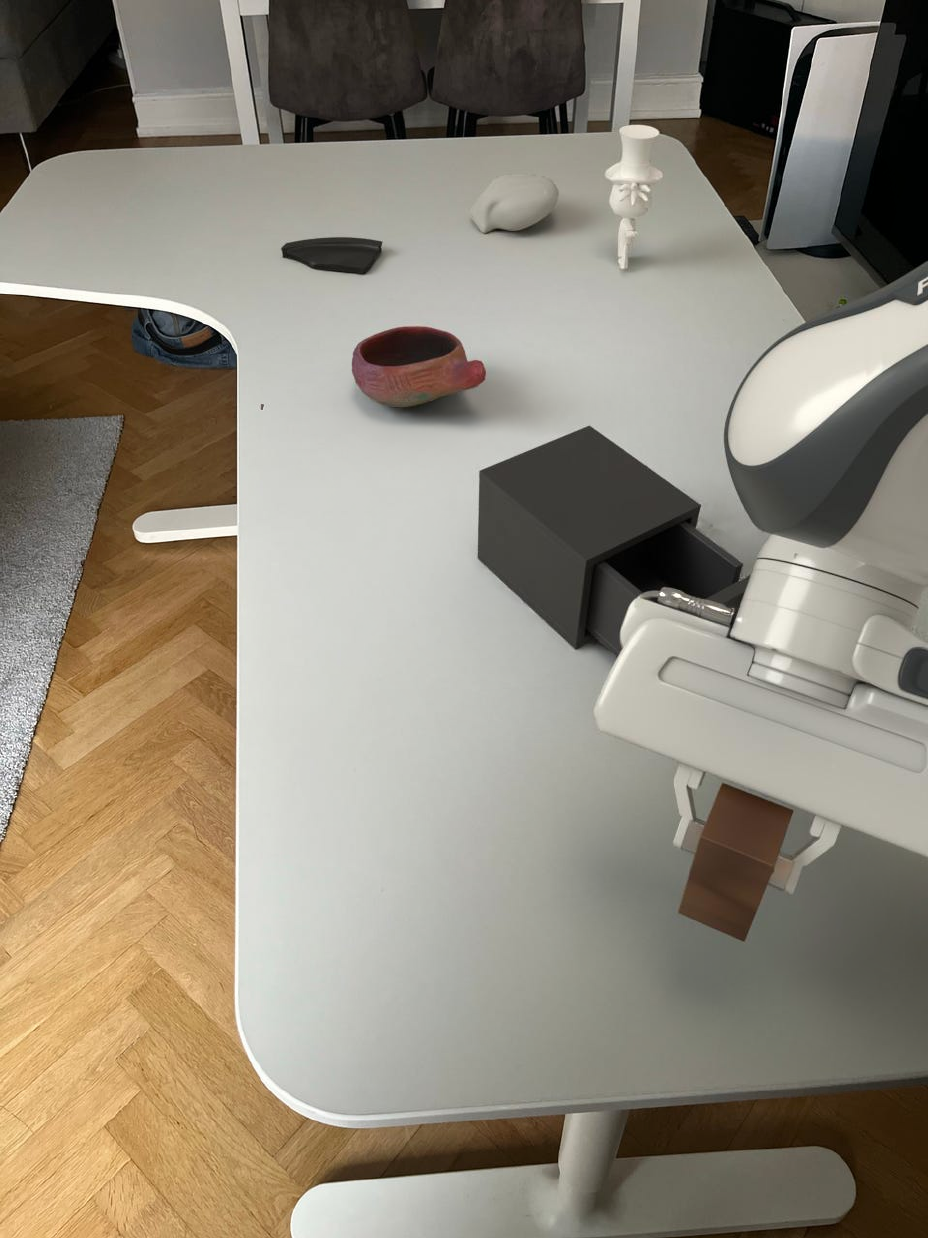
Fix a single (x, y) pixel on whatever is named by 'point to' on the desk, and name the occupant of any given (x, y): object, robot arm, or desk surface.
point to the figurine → (632, 183)
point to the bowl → (413, 366)
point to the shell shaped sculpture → (514, 202)
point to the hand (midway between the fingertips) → (732, 868)
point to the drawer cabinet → (569, 521)
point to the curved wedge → (334, 253)
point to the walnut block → (734, 861)
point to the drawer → (661, 578)
